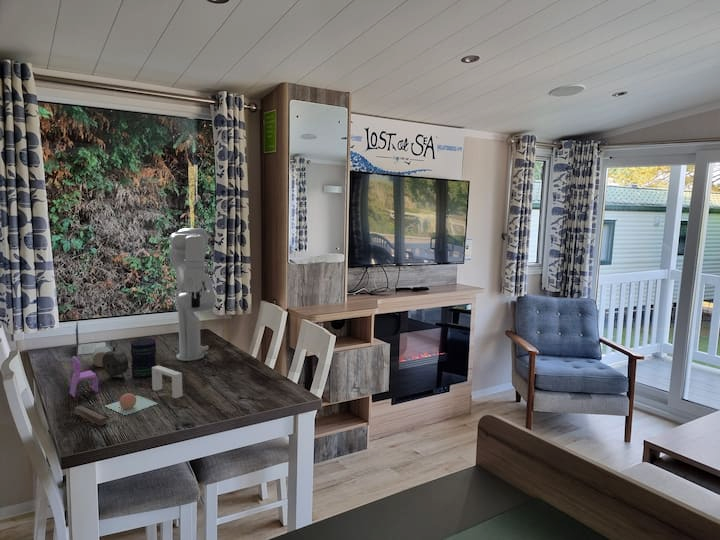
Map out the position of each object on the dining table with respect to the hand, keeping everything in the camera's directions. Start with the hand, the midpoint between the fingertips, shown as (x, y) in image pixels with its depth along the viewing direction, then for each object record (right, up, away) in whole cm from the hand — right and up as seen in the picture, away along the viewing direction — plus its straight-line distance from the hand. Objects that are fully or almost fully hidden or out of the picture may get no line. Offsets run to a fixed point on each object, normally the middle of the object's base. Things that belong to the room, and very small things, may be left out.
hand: (195, 307), depth 216 cm
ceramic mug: (-44, -27, +12) cm, 53 cm away
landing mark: (-13, -33, -32) cm, 48 cm away
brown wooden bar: (-21, -35, -44) cm, 60 cm away
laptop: (-63, -24, +34) cm, 75 cm away
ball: (-13, -31, -35) cm, 49 cm away
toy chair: (-36, -32, -22) cm, 53 cm away
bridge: (-5, -32, -20) cm, 38 cm away
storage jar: (-21, -29, -2) cm, 36 cm away
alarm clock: (-32, -29, -5) cm, 44 cm away
